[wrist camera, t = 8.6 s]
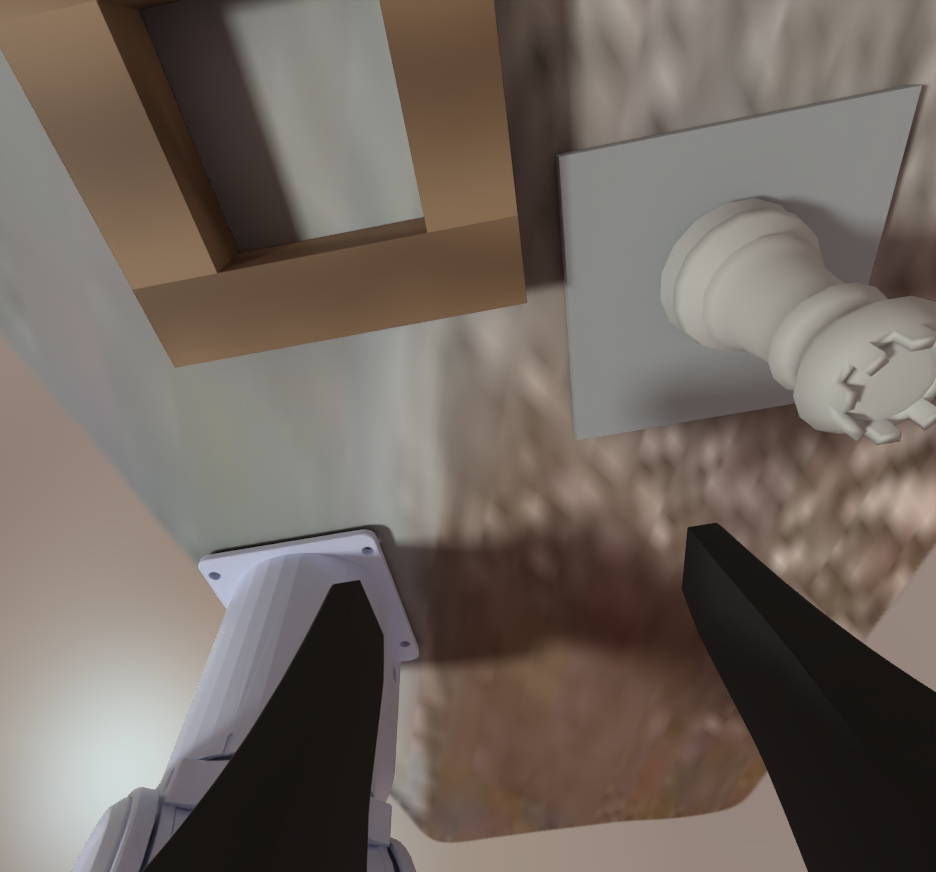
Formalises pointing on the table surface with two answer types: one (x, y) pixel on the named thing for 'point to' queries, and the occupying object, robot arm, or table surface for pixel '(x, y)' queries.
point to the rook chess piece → (803, 321)
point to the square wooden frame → (295, 264)
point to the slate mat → (673, 212)
